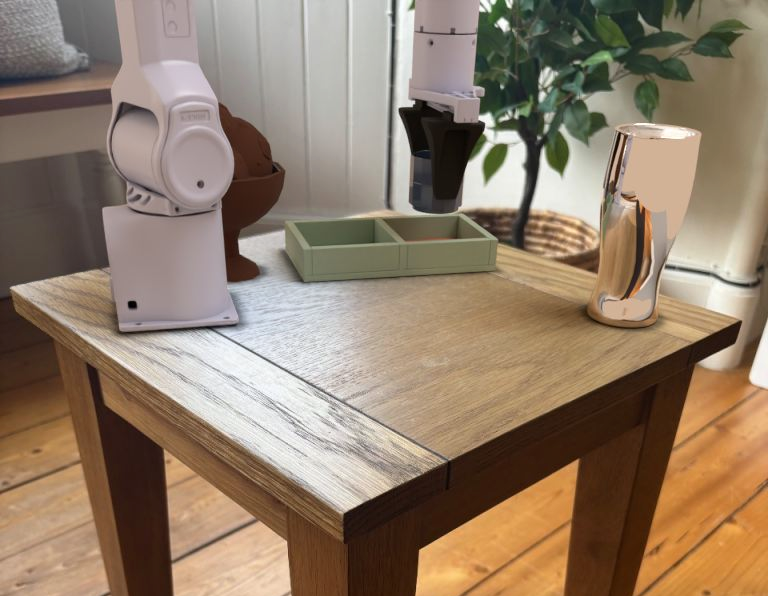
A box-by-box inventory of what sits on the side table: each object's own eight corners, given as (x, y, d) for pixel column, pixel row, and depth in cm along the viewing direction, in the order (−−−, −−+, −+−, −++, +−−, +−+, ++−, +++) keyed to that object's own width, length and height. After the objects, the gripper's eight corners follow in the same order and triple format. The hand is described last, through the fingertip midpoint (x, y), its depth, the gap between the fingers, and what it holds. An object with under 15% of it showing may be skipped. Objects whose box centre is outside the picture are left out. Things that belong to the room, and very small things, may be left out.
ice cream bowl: (232, 299, 72) (217, 113, 64) (149, 273, 78) (126, 98, 69) (311, 272, 79) (308, 101, 71) (231, 249, 85) (218, 88, 76)
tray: (304, 282, 77) (303, 249, 75) (285, 251, 85) (284, 220, 83) (495, 270, 81) (498, 239, 80) (460, 242, 89) (462, 213, 88)
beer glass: (666, 333, 68) (711, 140, 60) (582, 325, 69) (615, 134, 61) (657, 305, 74) (697, 125, 66) (580, 298, 75) (610, 120, 67)
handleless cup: (418, 216, 79) (420, 161, 76) (402, 202, 83) (404, 149, 80) (469, 214, 80) (474, 159, 77) (451, 200, 84) (454, 148, 81)
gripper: (519, 39, 68) (501, 208, 76) (459, 27, 80) (449, 174, 87) (439, 38, 66) (429, 211, 74) (390, 26, 78) (386, 176, 85)
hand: (435, 191), depth 80 cm, fingers closed on handleless cup, 5 cm apart
